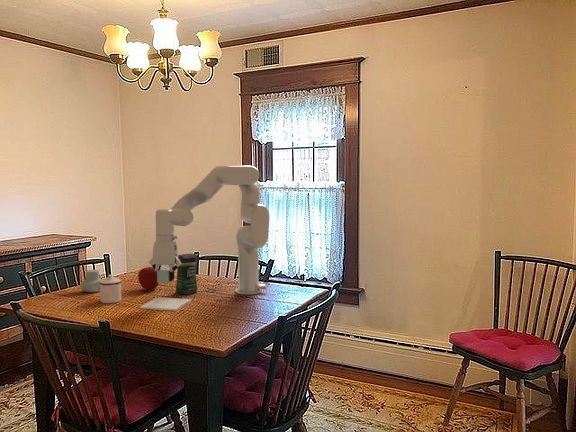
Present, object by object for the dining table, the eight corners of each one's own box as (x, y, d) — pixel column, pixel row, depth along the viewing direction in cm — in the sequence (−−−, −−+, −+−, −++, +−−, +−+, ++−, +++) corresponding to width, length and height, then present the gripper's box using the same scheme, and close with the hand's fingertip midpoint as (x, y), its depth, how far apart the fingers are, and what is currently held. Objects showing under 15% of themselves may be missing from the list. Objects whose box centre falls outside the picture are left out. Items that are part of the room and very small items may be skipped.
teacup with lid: (126, 300, 223) (125, 274, 222) (109, 304, 215) (109, 278, 214) (107, 296, 229) (107, 271, 228) (91, 301, 221) (90, 275, 220)
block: (173, 280, 216) (173, 269, 216) (168, 283, 212) (168, 271, 211) (162, 280, 217) (162, 268, 217) (157, 282, 213) (157, 270, 212)
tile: (191, 301, 222) (191, 299, 222) (175, 310, 206) (175, 308, 206) (157, 299, 225) (157, 297, 225) (140, 308, 209) (140, 306, 209)
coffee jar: (183, 296, 231) (182, 256, 229) (173, 293, 236) (172, 254, 235) (200, 292, 238) (199, 253, 236) (190, 289, 243) (189, 251, 242)
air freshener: (89, 294, 233) (88, 273, 232) (77, 292, 237) (76, 271, 236) (108, 290, 242) (107, 269, 241) (96, 288, 246) (95, 267, 245)
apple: (164, 290, 242) (164, 266, 240) (142, 293, 236) (142, 268, 234) (156, 286, 251) (156, 262, 250) (135, 288, 245) (134, 265, 244)
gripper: (187, 237, 215) (187, 279, 216) (150, 236, 218) (151, 277, 220) (179, 240, 208) (180, 283, 209) (142, 238, 211) (142, 281, 213)
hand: (165, 279), depth 214 cm, fingers closed on block, 5 cm apart
